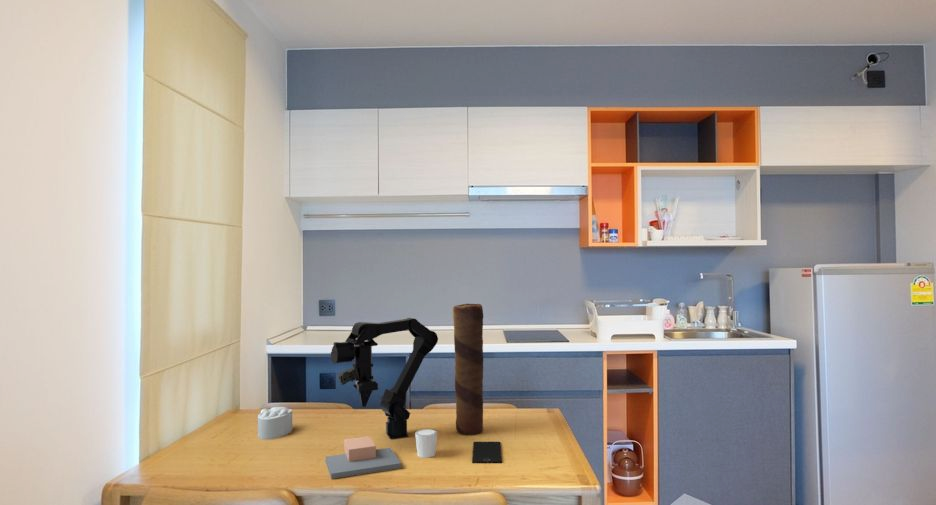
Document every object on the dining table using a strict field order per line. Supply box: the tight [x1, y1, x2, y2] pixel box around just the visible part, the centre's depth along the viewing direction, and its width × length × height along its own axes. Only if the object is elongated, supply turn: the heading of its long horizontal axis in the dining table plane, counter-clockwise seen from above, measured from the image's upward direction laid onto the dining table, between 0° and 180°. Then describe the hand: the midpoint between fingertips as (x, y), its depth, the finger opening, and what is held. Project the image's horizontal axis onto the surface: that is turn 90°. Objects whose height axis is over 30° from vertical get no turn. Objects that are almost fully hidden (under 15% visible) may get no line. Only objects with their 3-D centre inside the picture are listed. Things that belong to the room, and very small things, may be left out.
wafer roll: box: [452, 303, 484, 436], centre depth 193 cm, size 10×11×45 cm
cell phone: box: [471, 441, 503, 464], centre depth 171 cm, size 9×18×1 cm, turn 178°
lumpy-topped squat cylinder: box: [257, 406, 293, 441], centre depth 194 cm, size 10×13×9 cm
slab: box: [343, 435, 377, 461], centre depth 167 cm, size 8×4×10 cm
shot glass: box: [414, 428, 438, 459], centre depth 170 cm, size 7×7×7 cm
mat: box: [325, 447, 402, 480], centre depth 162 cm, size 20×14×2 cm
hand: (363, 406), depth 182 cm, fingers closed
